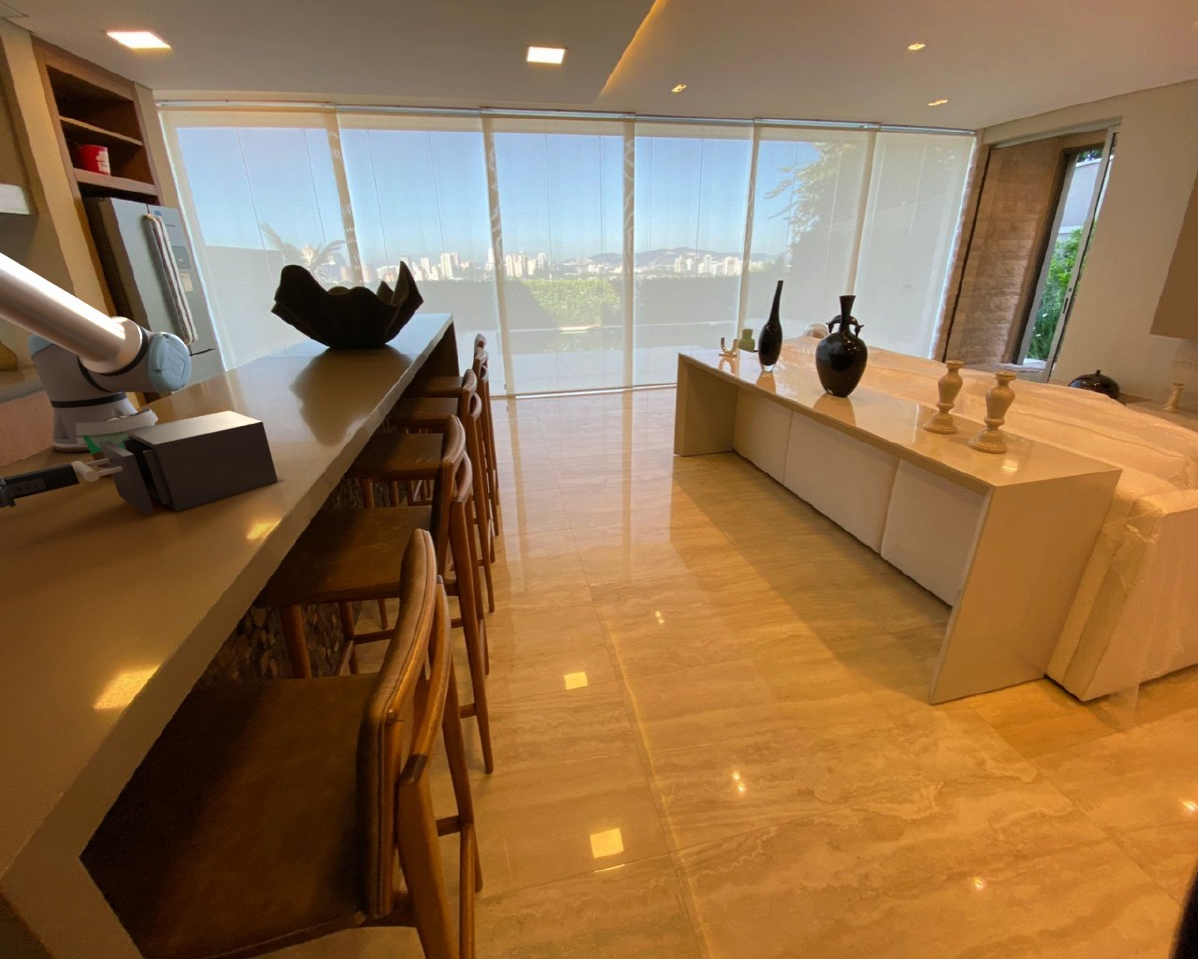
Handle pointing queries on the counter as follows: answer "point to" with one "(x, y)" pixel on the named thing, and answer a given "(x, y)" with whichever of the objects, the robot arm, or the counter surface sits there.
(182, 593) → the counter surface
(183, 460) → the cabinet
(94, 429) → the food container
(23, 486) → the robot arm
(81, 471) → the drawer
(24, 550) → the counter surface
